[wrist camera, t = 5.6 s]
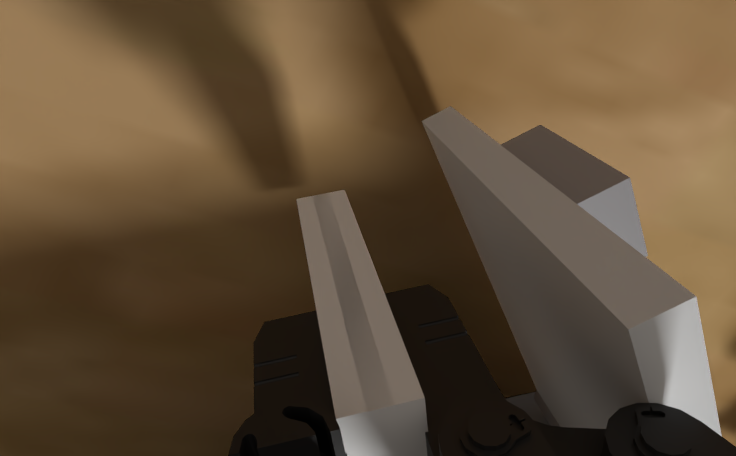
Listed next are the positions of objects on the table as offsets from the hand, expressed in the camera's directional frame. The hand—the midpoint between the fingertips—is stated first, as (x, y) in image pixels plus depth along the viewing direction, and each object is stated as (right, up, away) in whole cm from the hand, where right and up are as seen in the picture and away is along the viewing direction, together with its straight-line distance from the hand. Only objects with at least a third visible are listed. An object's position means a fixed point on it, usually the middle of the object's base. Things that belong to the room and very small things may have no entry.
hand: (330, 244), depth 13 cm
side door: (+5, -1, +3) cm, 6 cm away
